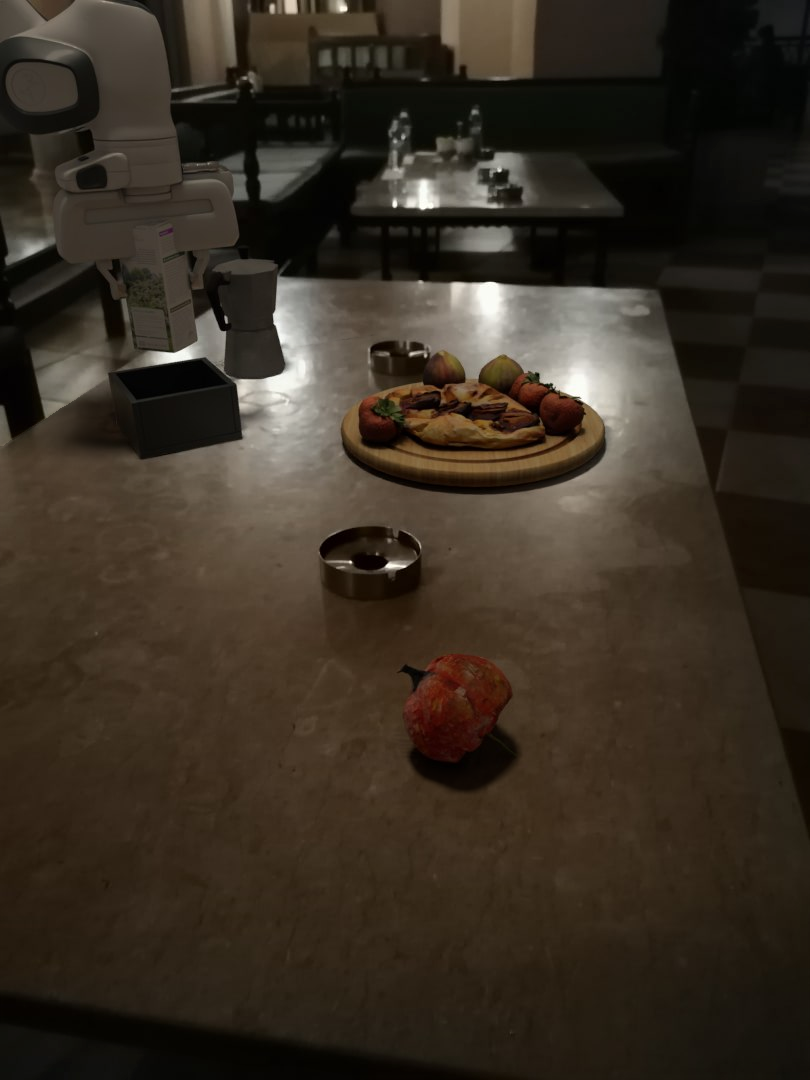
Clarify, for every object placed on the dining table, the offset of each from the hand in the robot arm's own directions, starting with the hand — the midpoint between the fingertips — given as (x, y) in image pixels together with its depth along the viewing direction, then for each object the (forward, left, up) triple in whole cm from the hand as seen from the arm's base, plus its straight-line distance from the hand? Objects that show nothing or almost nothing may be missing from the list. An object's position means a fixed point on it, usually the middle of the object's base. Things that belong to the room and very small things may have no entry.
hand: (158, 293), depth 106 cm
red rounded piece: (+1, -67, -18) cm, 69 cm away
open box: (0, 0, -17) cm, 17 cm away
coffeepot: (+16, +18, -18) cm, 30 cm away
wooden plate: (+31, -20, -18) cm, 41 cm away
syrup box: (0, 0, -6) cm, 7 cm away
